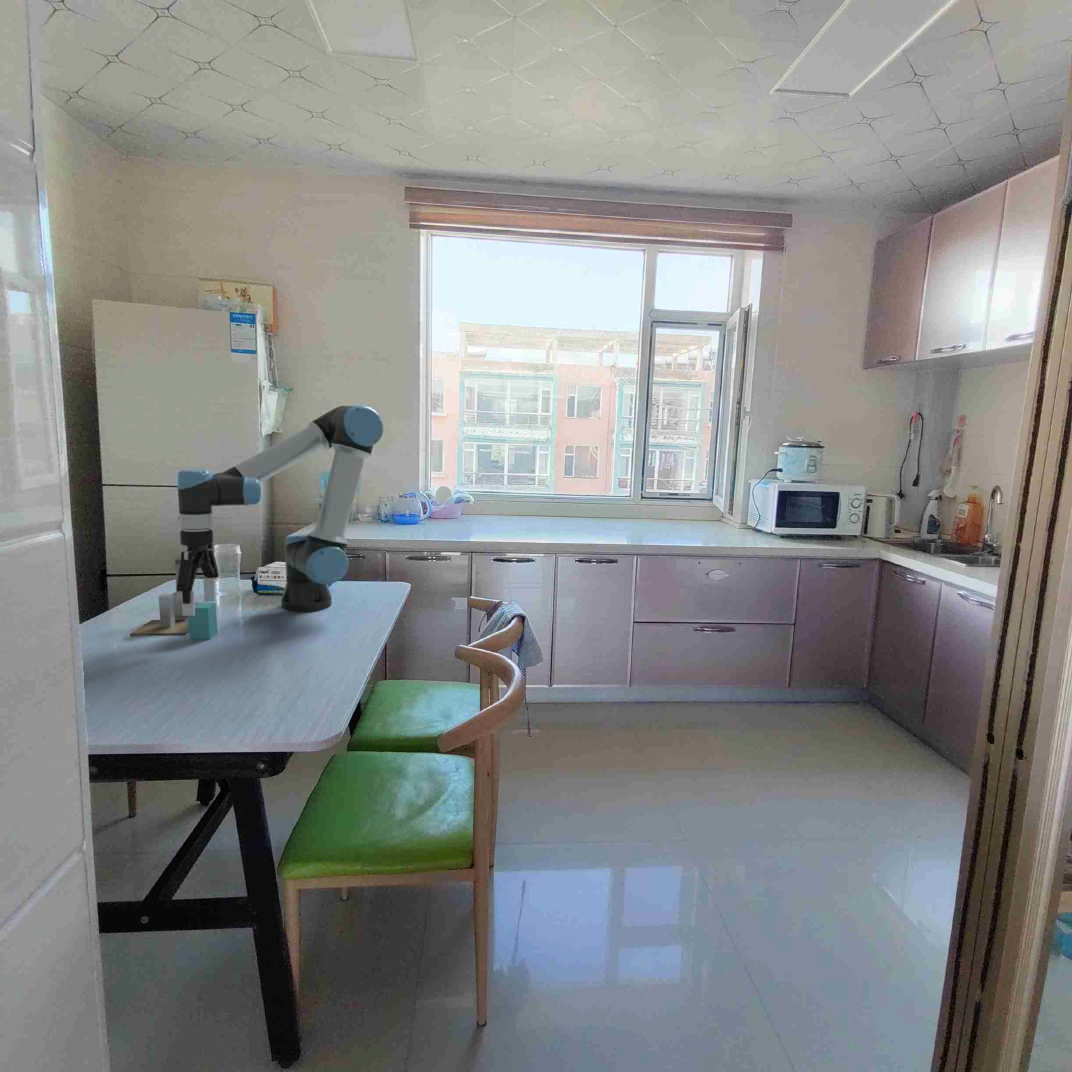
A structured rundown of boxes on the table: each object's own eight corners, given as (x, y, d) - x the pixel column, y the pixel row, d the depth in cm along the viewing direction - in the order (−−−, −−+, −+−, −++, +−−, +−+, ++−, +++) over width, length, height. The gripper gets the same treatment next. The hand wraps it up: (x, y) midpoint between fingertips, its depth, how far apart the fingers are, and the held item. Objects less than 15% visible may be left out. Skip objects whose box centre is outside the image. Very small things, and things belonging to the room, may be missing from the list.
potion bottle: (204, 615, 183) (203, 555, 182) (185, 621, 174) (183, 558, 173) (176, 614, 184) (175, 554, 182) (156, 620, 175) (154, 557, 173)
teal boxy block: (217, 632, 168) (215, 602, 167) (210, 639, 163) (208, 608, 161) (197, 633, 167) (195, 602, 166) (189, 639, 162) (187, 608, 161)
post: (175, 624, 172) (172, 593, 170) (170, 627, 169) (168, 596, 168) (165, 624, 172) (162, 593, 170) (160, 627, 169) (158, 596, 167)
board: (203, 621, 177) (203, 619, 177) (185, 635, 166) (185, 633, 165) (152, 621, 176) (151, 619, 175) (129, 635, 164) (129, 633, 164)
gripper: (201, 522, 172) (204, 595, 175) (158, 536, 147) (162, 621, 151) (229, 522, 173) (231, 595, 176) (191, 537, 148) (195, 621, 152)
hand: (199, 608), depth 164 cm, fingers open, 13 cm apart
